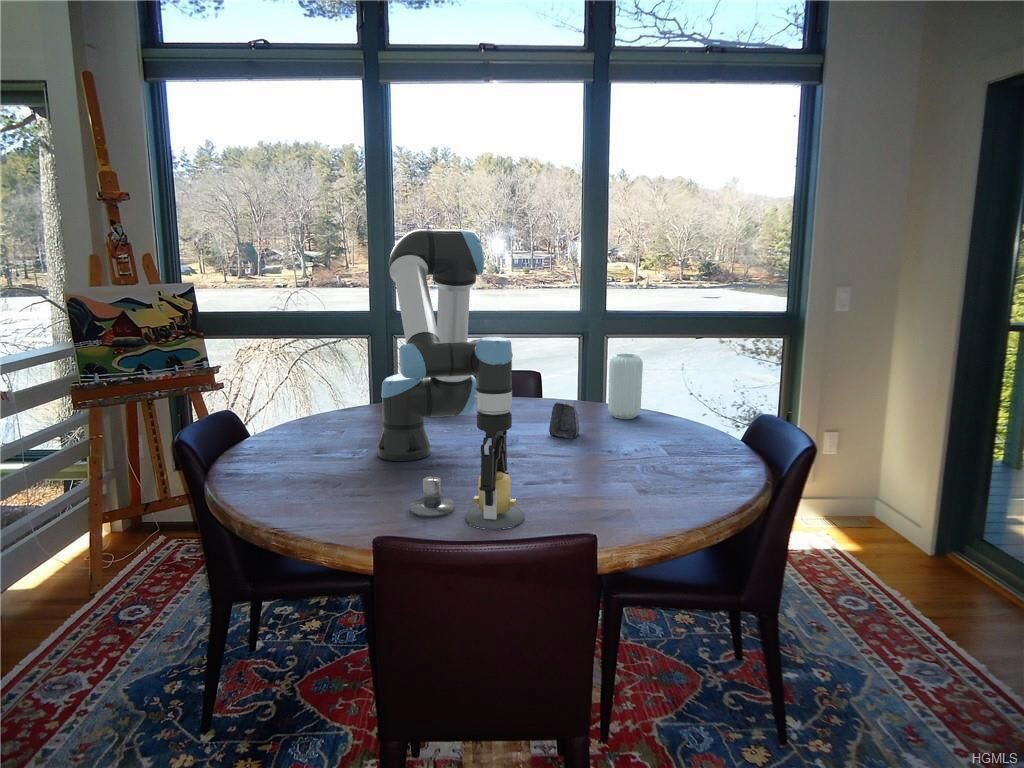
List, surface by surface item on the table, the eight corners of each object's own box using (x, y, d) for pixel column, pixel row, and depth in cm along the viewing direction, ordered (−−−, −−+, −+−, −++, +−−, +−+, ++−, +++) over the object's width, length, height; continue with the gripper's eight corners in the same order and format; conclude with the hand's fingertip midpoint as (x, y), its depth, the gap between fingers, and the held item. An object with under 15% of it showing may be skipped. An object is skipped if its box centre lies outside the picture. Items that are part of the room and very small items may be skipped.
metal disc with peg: (403, 516, 145) (402, 485, 143) (419, 499, 154) (418, 470, 153) (446, 519, 143) (445, 488, 141) (459, 503, 152) (459, 473, 151)
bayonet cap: (478, 500, 148) (478, 467, 146) (518, 503, 146) (518, 470, 144) (469, 511, 141) (469, 477, 140) (511, 515, 139) (511, 480, 138)
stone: (570, 446, 203) (542, 433, 207) (578, 443, 213) (551, 431, 216) (584, 410, 202) (555, 398, 205) (592, 409, 211) (564, 398, 214)
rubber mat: (457, 526, 139) (457, 523, 139) (474, 504, 151) (474, 501, 151) (517, 532, 136) (517, 529, 136) (529, 509, 149) (529, 505, 149)
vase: (616, 411, 241) (619, 351, 237) (645, 415, 234) (648, 354, 230) (602, 417, 232) (604, 355, 227) (631, 422, 225) (634, 358, 221)
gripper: (488, 399, 149) (489, 494, 154) (463, 420, 130) (465, 528, 135) (520, 400, 148) (520, 496, 152) (500, 422, 129) (500, 531, 133)
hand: (494, 511), depth 144 cm, fingers closed on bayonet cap, 7 cm apart
